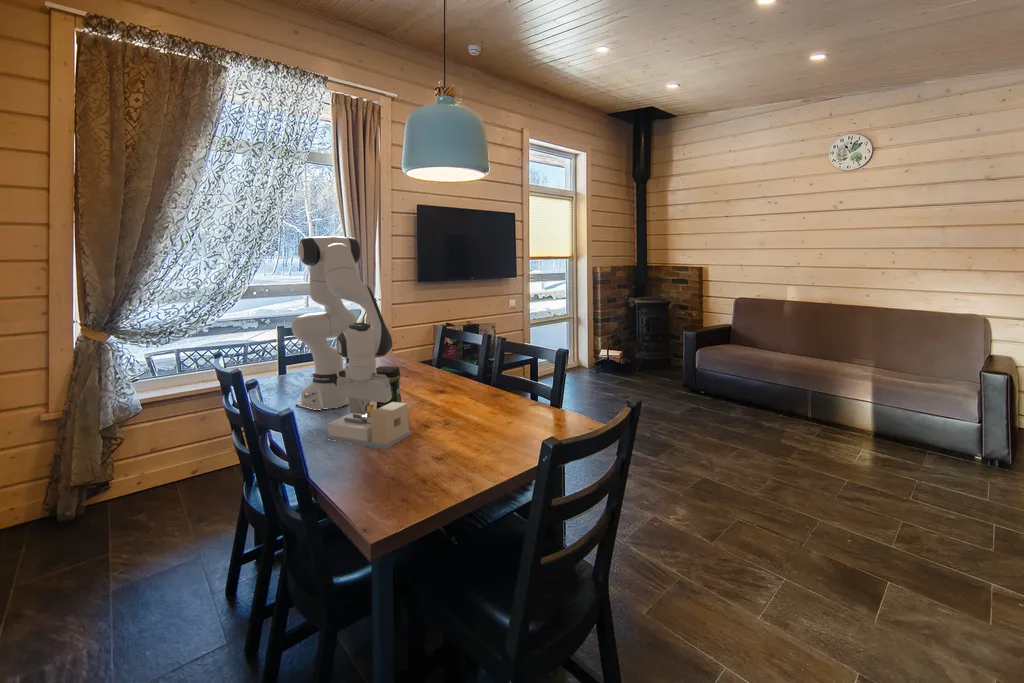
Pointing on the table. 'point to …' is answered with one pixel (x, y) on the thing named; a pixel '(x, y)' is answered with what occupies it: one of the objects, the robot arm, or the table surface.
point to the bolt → (368, 413)
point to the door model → (373, 427)
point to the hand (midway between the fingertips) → (365, 411)
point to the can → (355, 406)
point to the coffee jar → (391, 383)
